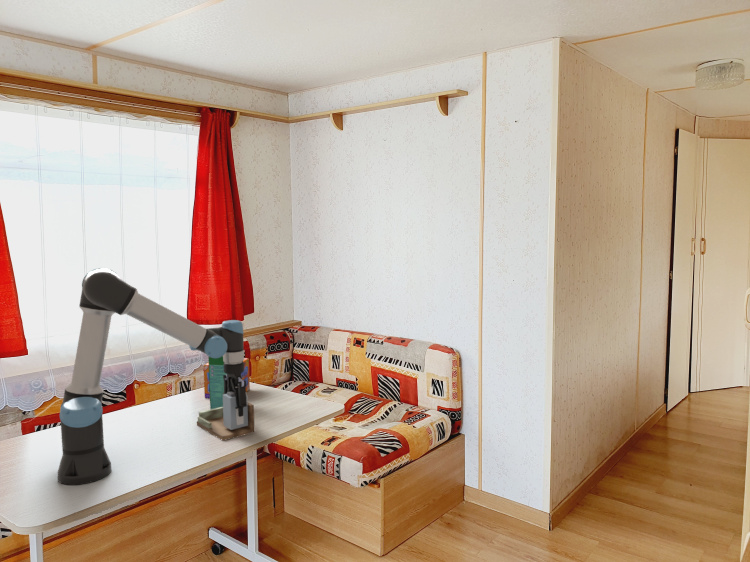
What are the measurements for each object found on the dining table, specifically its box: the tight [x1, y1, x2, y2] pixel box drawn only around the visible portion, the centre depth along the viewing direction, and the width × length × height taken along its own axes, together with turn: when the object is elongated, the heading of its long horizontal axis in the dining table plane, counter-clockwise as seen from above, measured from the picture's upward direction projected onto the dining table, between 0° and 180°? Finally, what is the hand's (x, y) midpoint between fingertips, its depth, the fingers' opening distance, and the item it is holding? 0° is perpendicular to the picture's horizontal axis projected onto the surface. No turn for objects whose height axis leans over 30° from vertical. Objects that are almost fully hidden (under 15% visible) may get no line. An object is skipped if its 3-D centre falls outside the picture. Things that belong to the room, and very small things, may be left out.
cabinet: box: [223, 391, 249, 430], centre depth 217 cm, size 7×6×13 cm
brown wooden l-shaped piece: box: [196, 393, 256, 441], centre depth 221 cm, size 13×22×10 cm, turn 41°
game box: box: [203, 357, 251, 399], centre depth 266 cm, size 16×16×16 cm
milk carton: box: [207, 356, 237, 410], centre depth 246 cm, size 9×9×25 cm
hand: (235, 421), depth 217 cm, fingers closed on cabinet, 6 cm apart
